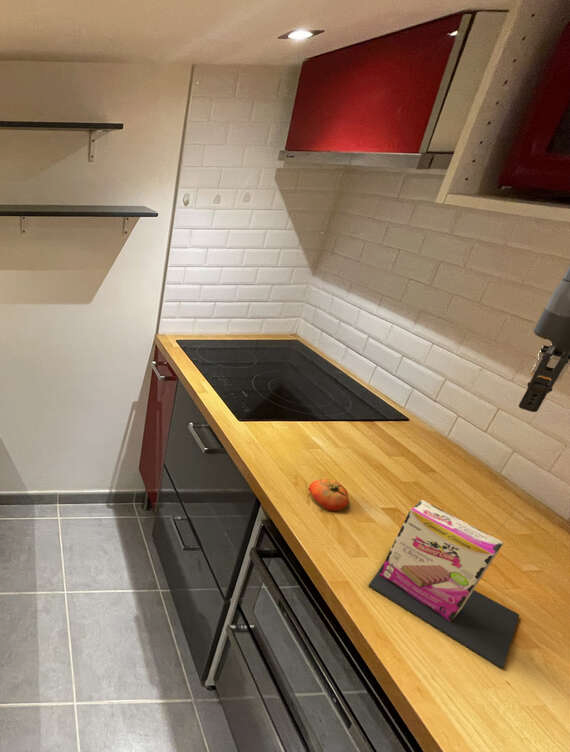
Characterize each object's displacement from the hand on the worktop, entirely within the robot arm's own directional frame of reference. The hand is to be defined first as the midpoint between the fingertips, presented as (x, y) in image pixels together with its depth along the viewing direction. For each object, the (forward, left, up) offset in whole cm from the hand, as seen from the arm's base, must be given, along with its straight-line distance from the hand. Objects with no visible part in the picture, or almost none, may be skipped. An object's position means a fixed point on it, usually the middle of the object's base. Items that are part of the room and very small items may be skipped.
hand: (531, 401), depth 76 cm
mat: (-2, +17, -34) cm, 38 cm away
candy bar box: (+1, +19, -34) cm, 39 cm away
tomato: (+21, +6, -34) cm, 41 cm away
